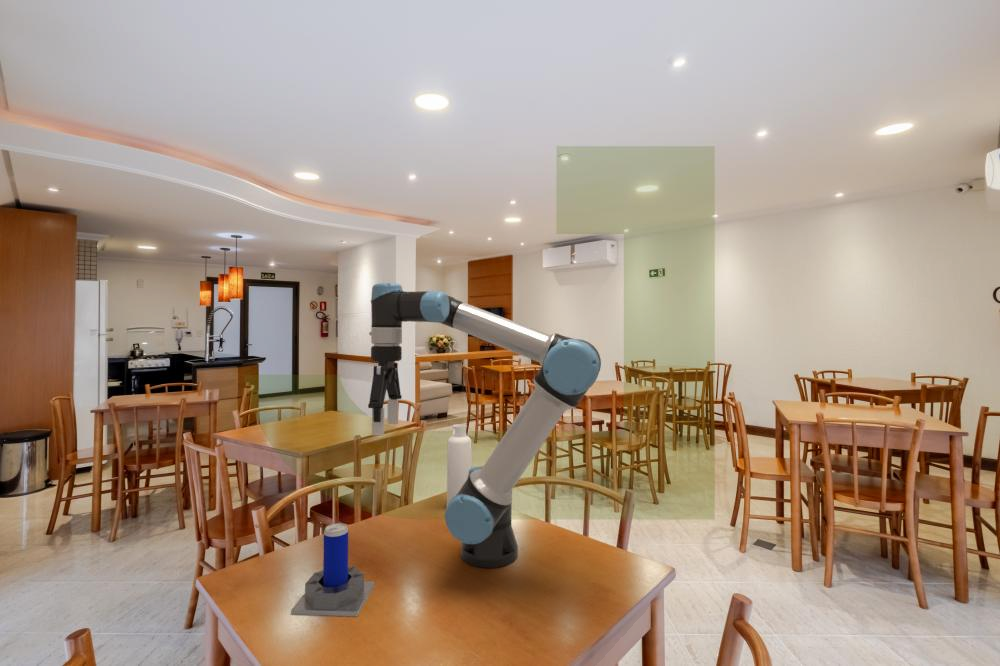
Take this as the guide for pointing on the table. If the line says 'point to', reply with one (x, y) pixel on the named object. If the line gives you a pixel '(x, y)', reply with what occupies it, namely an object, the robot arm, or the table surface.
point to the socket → (334, 596)
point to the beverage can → (335, 555)
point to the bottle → (458, 460)
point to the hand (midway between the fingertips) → (385, 429)
